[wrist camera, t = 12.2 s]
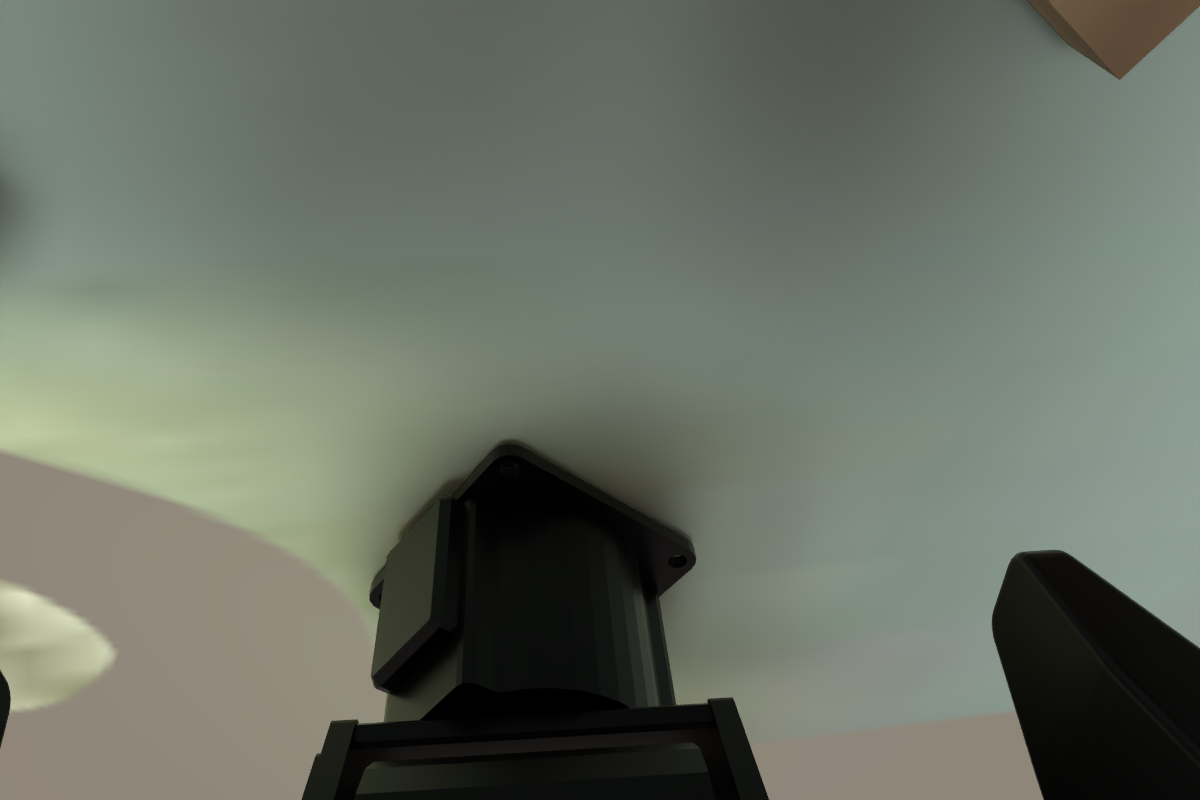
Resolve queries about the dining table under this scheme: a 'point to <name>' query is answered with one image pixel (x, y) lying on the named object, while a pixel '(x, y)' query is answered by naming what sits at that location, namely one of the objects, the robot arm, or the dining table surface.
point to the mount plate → (1114, 27)
